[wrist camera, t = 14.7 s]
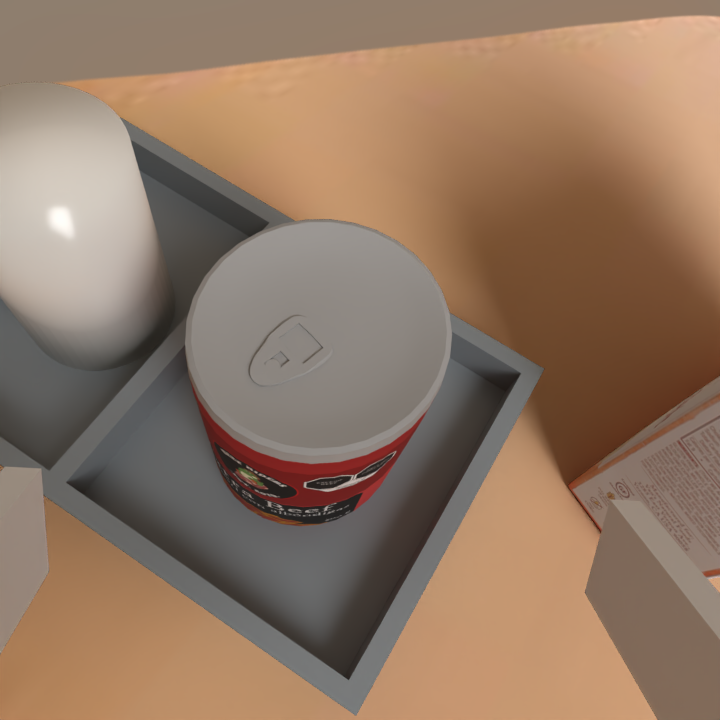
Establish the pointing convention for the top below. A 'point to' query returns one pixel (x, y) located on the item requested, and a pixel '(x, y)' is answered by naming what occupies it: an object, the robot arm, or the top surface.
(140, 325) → the ceramic jar
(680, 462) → the cracker box
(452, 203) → the top surface
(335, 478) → the canned food
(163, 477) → the caddy
